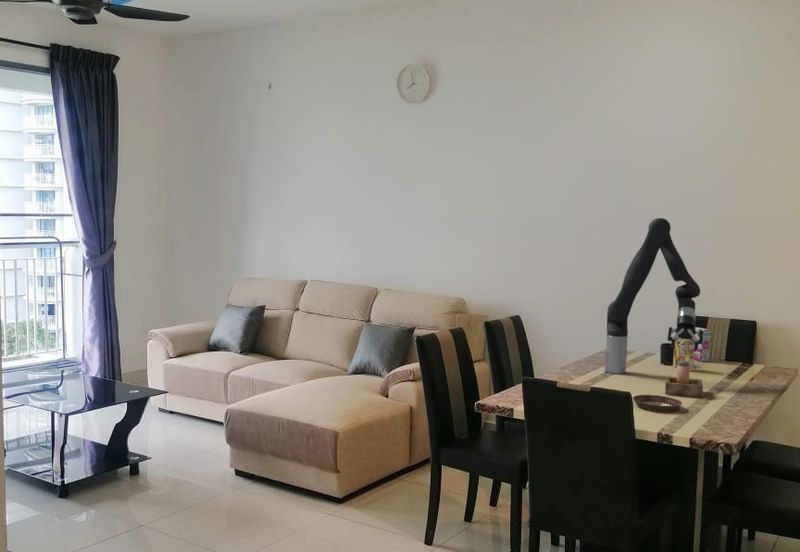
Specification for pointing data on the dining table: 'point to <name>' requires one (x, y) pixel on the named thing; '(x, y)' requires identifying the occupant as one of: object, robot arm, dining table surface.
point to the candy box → (683, 352)
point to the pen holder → (666, 354)
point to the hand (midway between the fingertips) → (684, 349)
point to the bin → (684, 387)
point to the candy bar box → (703, 346)
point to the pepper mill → (683, 372)
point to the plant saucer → (657, 402)
